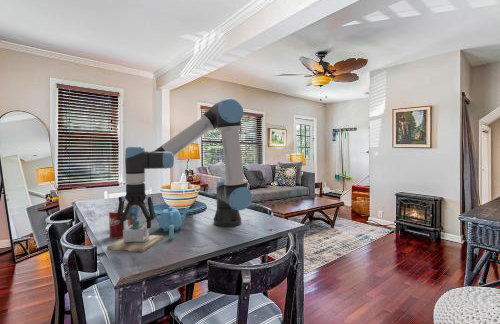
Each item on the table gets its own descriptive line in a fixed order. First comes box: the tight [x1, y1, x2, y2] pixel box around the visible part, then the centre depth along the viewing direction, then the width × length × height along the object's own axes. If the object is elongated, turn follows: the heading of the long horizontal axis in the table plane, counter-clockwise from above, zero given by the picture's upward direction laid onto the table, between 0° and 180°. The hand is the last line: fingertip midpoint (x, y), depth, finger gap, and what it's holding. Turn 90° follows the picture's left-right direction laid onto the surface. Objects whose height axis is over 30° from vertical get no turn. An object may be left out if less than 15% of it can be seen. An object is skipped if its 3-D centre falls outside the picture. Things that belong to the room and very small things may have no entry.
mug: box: [123, 204, 143, 227], centre depth 143 cm, size 12×9×11 cm
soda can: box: [108, 209, 127, 240], centre depth 125 cm, size 7×7×12 cm
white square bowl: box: [122, 223, 151, 242], centre depth 116 cm, size 8×8×5 cm
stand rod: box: [168, 225, 175, 241], centre depth 121 cm, size 2×2×6 cm
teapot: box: [154, 206, 190, 232], centre depth 137 cm, size 13×14×11 cm
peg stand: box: [107, 219, 164, 253], centre depth 115 cm, size 16×16×10 cm
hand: (136, 235), depth 115 cm, fingers closed on white square bowl, 8 cm apart
